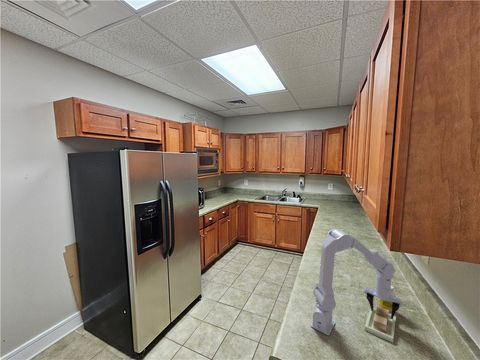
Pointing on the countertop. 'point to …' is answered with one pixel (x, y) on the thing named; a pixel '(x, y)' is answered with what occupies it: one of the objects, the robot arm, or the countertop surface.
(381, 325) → the cube
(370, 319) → the tray
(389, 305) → the supplement bottle
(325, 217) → the countertop surface
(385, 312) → the cube
